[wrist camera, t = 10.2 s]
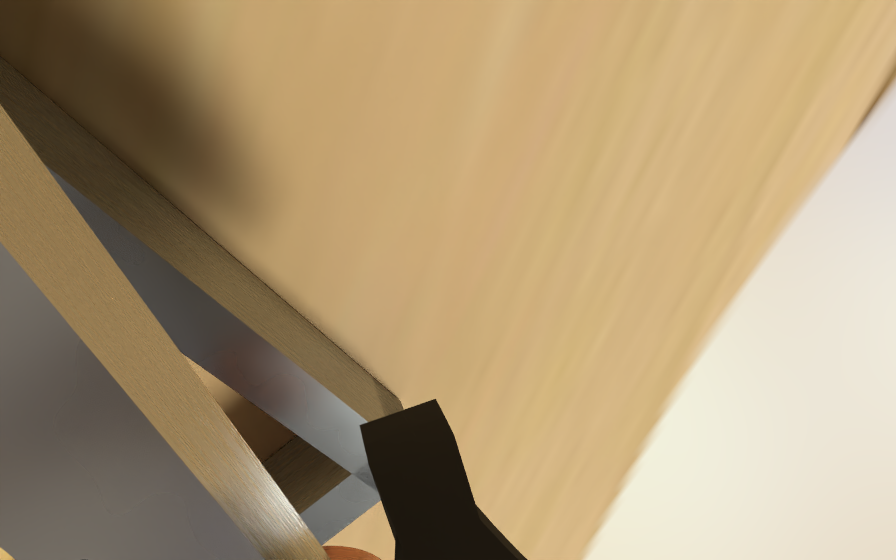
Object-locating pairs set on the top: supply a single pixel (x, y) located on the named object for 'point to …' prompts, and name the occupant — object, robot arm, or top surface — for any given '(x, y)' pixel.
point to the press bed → (220, 316)
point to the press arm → (112, 408)
